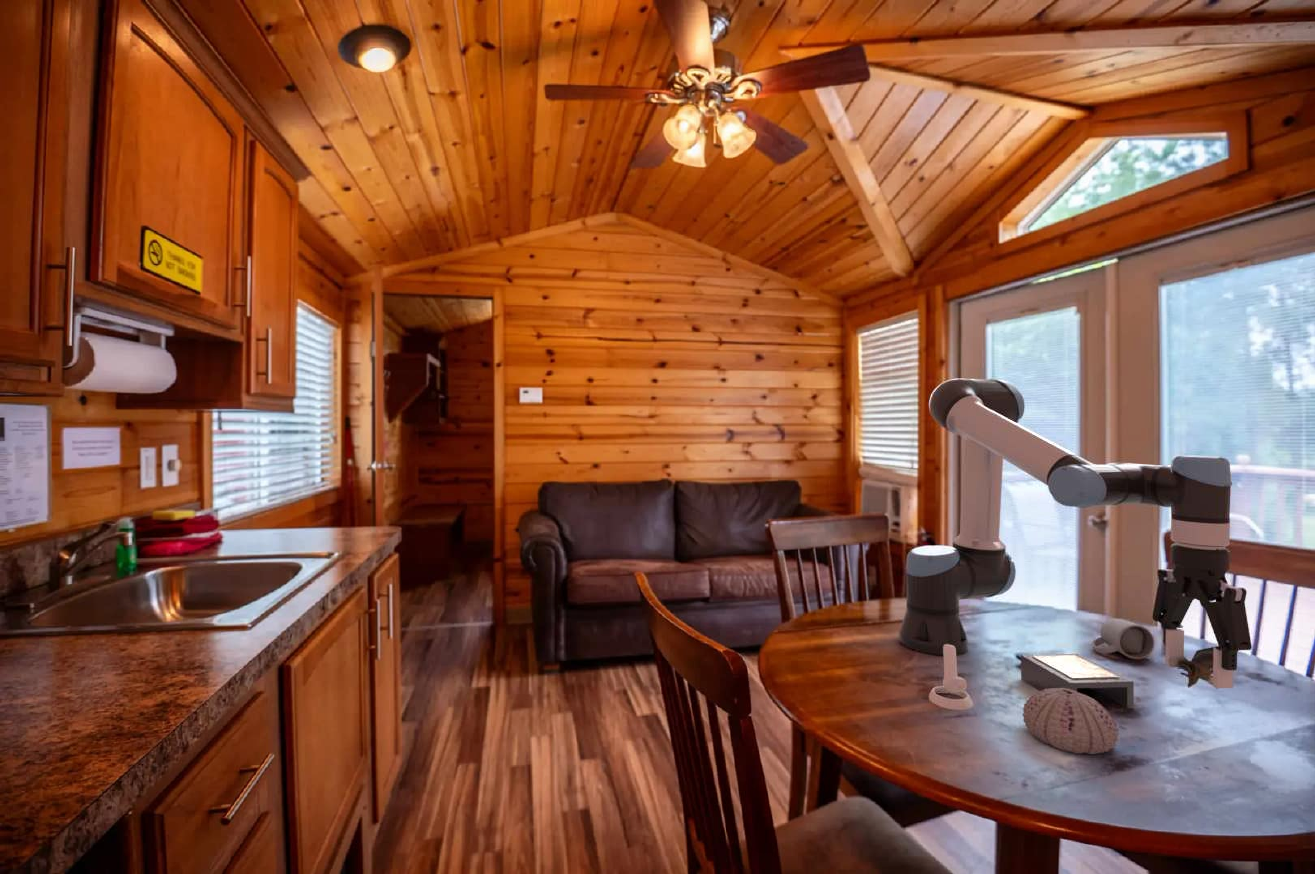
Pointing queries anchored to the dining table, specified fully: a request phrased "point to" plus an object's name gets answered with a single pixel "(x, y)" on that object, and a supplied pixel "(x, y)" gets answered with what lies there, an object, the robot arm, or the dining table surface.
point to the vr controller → (951, 684)
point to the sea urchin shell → (1070, 721)
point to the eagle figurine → (1196, 666)
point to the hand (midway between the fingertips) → (1197, 675)
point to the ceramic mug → (1125, 639)
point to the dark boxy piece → (1076, 676)
